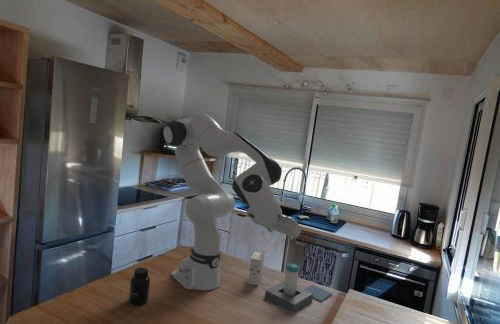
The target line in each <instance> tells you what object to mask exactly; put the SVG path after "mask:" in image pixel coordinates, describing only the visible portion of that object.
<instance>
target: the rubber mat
mask: <svg viewBox="0 0 500 324" xmlns="http://www.w3.org/2000/svg"><path fill="white" fill-rule="evenodd" d="M303 289H304V290H306V291H309V292H311V293H313V298H312V299H314V300H316V301H318V302H320V303H322V302H323V301H325V300H326V299H328V298H329V297H331V296H332V295H333V293H332V292H331V291H328V290H325V289H324V288H321V287H319V286H317V285H314V284H311V285H309V286H307V287H305V288H303Z"/></svg>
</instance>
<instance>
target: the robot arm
mask: <svg viewBox="0 0 500 324" xmlns="http://www.w3.org/2000/svg"><path fill="white" fill-rule="evenodd" d="M162 136H163V140H164V141H165V143H166V144H167V145H168V146H170V147H175V150H174V153H175V159H176V162H177V164H178V168H179V170H180V173H181V174H182V177H183V179H184V181H185V183H186V186H187V187H188V188H189V190H190V189H191V190H192V191H194V192H196V194H197V195H195V196H193V197H191V198H190V199H188V200H187V202H186V204H185V214H186V217H187V219H189V220H190V221H191V223H192V225H193V229H194V239H193V240H194V242H193V247H192V248H189V251H188V253H190V252H191V253H190V255H189V256H187V257H186V258H183V259H182V260H181V261H179V263H178V266H177V268H176V269H174V270H173V271H172V272H171V274H170V275H171V276H172V277H173V278H174V279H175V280H176V281H177V282H178V283H179V284H180V285H181V286H182V287H183V288H185V289H186V290H196V291H212V290H215V289H218V287H220V285H221V280H220V279H221V275H220V274H221V273H220V266H221V265H220V261H221V255H222V253H221V244H222V232H221V231H220V229H218V228H217V219H219V218H223V217H226V216H227V215H229V214H230V213H231V212H233V210H234V209H235V207H236V201H235V198H234V196H233V194H231V193H230V192H229V191H226V190H225V189H224V188H223V186H221V185H220V184H219V182H218V181H217V180H216V179H215V177H214V176H213V174H212V173H211V171H210V168H209V167H208V164H207V162H206V161H205V158H204V157H203V155H202V152H201V150H200V148H201V149H202V150H203V151H204V152H205V154H207V155H208V156H212V157H222V156H225V155H228V154H231V153H237V152H239V153H240V152H241V153H244V154H245V155H246V156H248V157H249V158H250V159H251V160H252V161H254V164H253V165H251V166H250V167H248V168H247V169H245V171H243V172H241V173H240V174H238V175H237V176H236V177H234V179H233V181H232V184H231V185H232V187H231V188H232V190H233V192H234V193H235V194H236V195H237V197H238V200H239V201H240V202H241V203H242V204H244V205H247V206H249V207H248V208H247V210H246V212H245V213H246V215H247V216H248V217H249V218H250V220H251V221H252V222H253V223H254V224H256V225H258V226H260V227H264V229H266V230H267V232H268V233H273V231H275V232H278V233H281V234H284V235H287V238H288V239H289V240H291V241H293V240H294V238H295V239H297V238H298V237H299V236H300V234H301V232H302V227H301V226H300V224H299V223H298V221H297V220H296V219H294V218H293V217H291V216H288V215H286V214H283V210H282V207H281V206H280V204H279V202H278V200H277V199H276V197H274V192H273V191H272V189H271V186H273V185H274V184H276V183H278V182H279V181H281V178H282V174H283V173H282V171H283V170H282V168H281V166H280V164H279V163H278V162H277V161H276V160H275V159H274V158H273V157H271V156H270V155H267V154H266V153H265V152H263V151H262V150H261V149H260V148H258V147H257V146H256V145H254V144H253V143H252V142H250V141H249V140H248V139H247V138H246V137H244V136H243V135H241V134H240V133H238V132H235V131H234V132H232V131H231V132H230V131H227V130H225V129H223V128H222V126H221V125H220V124H219V123H218V122H217V121H216V120H215V119H214V118H213V117H211V116H210V115H208V114H207V113H205V112H199V113H196V114H195V115H193V116H192V117H185V118H182V119H181V118H180V119H178V120H177V119H176V120H171V121H169V122H167V123H165V124H164V126H163V129H162Z"/></svg>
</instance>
